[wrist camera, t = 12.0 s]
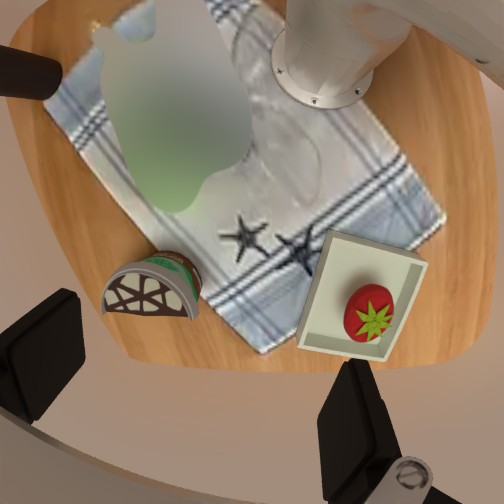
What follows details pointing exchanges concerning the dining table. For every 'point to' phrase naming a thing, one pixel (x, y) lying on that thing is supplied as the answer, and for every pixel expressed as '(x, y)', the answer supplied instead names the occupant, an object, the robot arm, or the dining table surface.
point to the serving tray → (346, 283)
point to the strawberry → (368, 313)
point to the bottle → (27, 74)
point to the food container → (154, 287)
